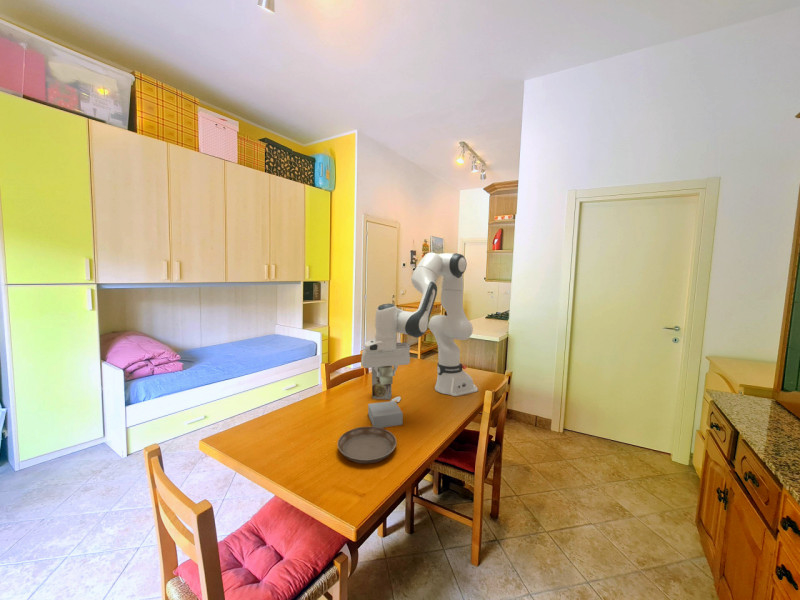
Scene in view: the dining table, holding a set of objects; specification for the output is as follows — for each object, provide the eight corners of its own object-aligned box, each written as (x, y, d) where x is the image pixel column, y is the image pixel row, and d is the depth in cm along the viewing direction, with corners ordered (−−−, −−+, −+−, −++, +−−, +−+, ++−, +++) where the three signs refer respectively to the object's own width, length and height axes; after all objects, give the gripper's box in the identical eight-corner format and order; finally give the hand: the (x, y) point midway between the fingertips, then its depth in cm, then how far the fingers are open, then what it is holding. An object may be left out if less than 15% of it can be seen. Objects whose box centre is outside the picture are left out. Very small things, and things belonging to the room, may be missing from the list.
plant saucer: (402, 438, 119) (402, 429, 118) (387, 473, 99) (387, 463, 98) (351, 431, 123) (350, 423, 123) (327, 463, 103) (327, 453, 103)
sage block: (389, 379, 133) (389, 363, 132) (392, 383, 128) (392, 367, 128) (379, 380, 131) (379, 364, 131) (381, 384, 127) (381, 368, 126)
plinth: (394, 411, 139) (394, 400, 139) (402, 424, 128) (402, 413, 127) (368, 414, 136) (368, 403, 136) (373, 428, 125) (373, 416, 124)
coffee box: (391, 394, 158) (392, 363, 156) (390, 400, 151) (390, 367, 150) (374, 393, 159) (374, 362, 157) (371, 399, 152) (371, 367, 151)
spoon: (403, 400, 152) (403, 397, 152) (377, 417, 135) (377, 413, 135) (396, 398, 154) (396, 395, 154) (369, 414, 137) (369, 411, 137)
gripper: (407, 340, 134) (407, 371, 136) (360, 343, 128) (360, 375, 130) (412, 343, 128) (412, 376, 130) (363, 347, 122) (363, 381, 124)
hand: (385, 376), depth 130 cm, fingers closed on sage block, 4 cm apart
